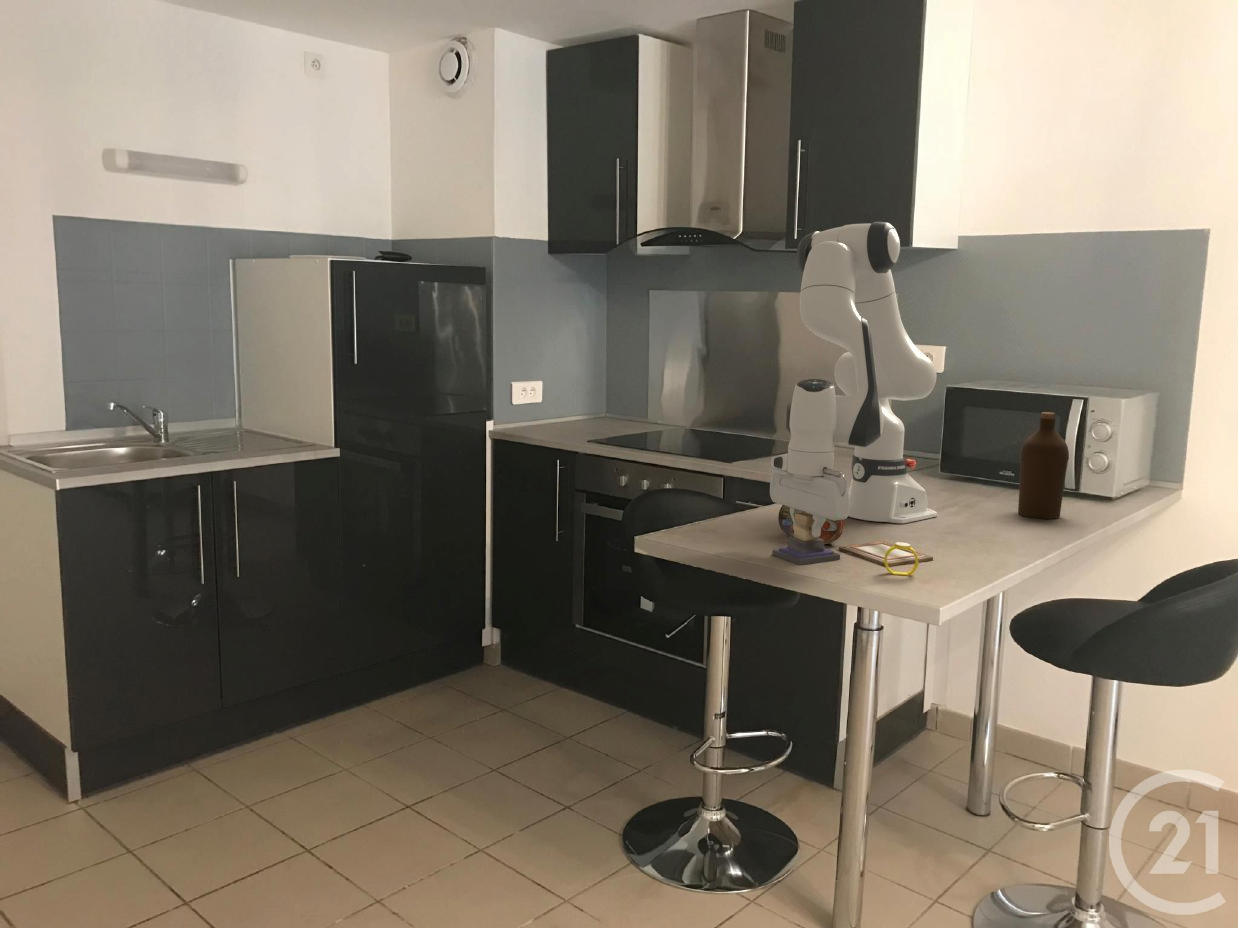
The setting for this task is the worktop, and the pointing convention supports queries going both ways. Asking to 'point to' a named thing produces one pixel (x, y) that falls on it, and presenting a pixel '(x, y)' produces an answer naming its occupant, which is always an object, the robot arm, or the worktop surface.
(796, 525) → the stamp
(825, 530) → the tin
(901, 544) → the watch
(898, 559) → the board
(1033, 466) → the olive oil
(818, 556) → the ink pad
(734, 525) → the worktop surface
